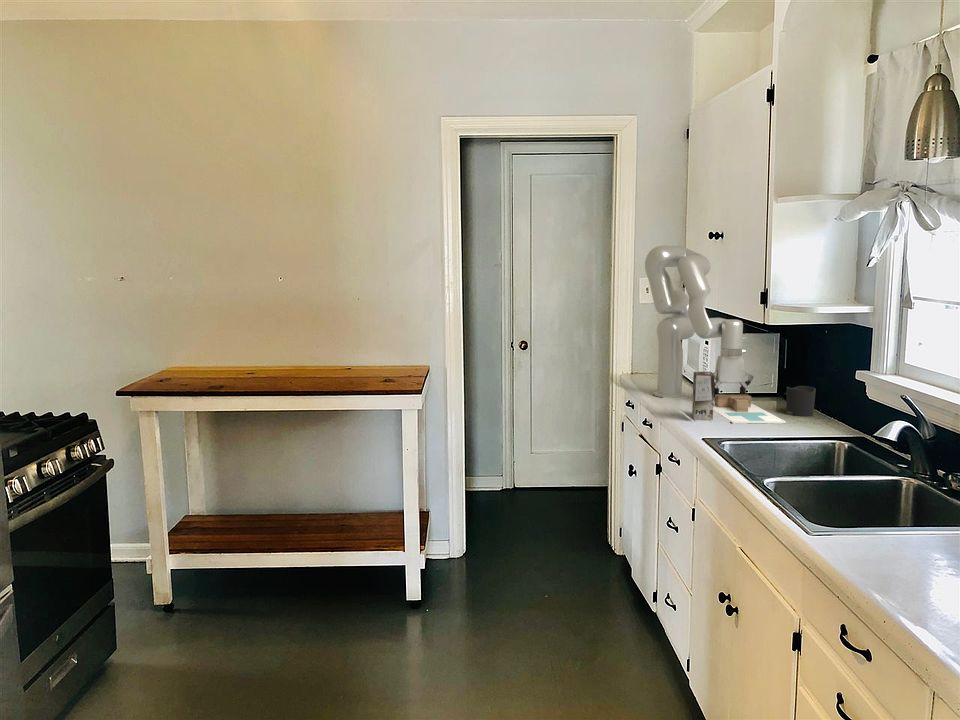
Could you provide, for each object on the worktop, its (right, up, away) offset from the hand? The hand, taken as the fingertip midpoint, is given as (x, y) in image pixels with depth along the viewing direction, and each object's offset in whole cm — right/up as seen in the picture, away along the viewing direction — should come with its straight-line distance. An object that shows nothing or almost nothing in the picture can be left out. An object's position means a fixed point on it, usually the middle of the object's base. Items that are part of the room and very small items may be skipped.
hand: (729, 397), depth 279 cm
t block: (0, -4, -8) cm, 9 cm away
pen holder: (+19, -6, -17) cm, 26 cm away
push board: (0, -5, -12) cm, 13 cm away
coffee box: (-17, -6, -22) cm, 29 cm away
